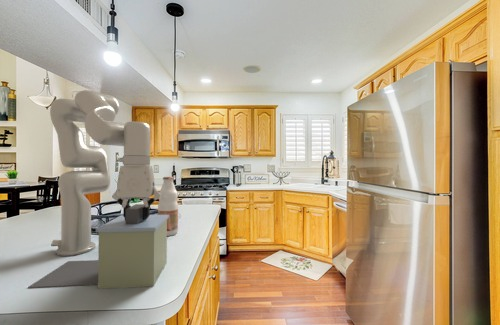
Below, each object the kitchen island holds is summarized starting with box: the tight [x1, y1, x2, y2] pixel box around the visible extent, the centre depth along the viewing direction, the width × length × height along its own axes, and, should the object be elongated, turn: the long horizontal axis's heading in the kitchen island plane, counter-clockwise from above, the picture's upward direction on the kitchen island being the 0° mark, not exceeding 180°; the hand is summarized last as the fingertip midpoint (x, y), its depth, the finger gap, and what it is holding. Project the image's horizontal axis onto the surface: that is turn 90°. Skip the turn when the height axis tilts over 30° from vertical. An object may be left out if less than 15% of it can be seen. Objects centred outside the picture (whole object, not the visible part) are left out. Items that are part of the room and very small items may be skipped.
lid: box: [95, 203, 169, 233], centre depth 74 cm, size 16×16×6 cm
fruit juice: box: [157, 176, 179, 237], centre depth 116 cm, size 9×9×28 cm
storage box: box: [97, 220, 168, 289], centre depth 74 cm, size 15×15×16 cm
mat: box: [27, 259, 98, 289], centre depth 75 cm, size 18×17×1 cm
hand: (136, 218), depth 74 cm, fingers open, 4 cm apart
